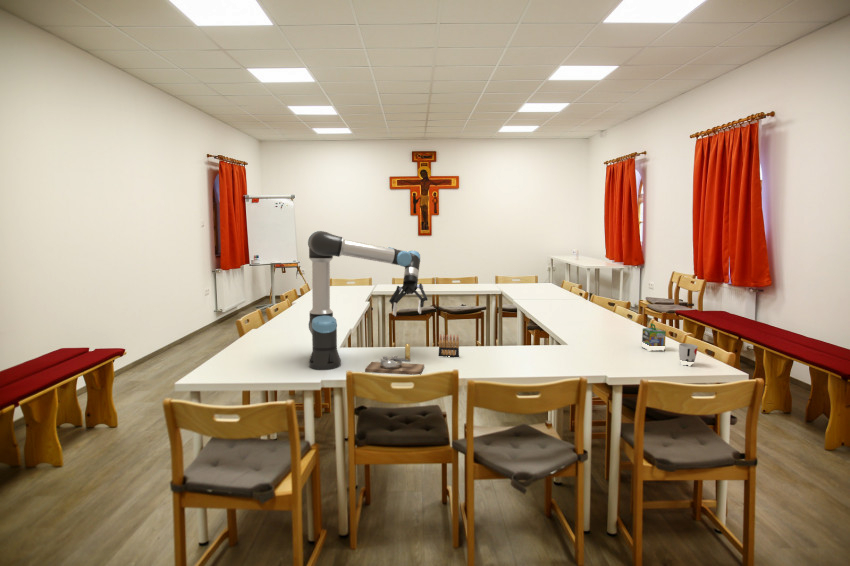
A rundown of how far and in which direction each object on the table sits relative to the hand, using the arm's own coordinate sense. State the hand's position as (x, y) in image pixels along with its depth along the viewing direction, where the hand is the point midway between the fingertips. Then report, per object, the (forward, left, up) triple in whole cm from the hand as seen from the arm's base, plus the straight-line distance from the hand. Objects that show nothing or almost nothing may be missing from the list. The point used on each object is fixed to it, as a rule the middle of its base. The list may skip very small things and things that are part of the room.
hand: (406, 313), depth 237 cm
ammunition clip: (+20, +11, -24) cm, 34 cm away
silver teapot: (-2, -16, -22) cm, 27 cm away
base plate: (-3, -16, -24) cm, 29 cm away
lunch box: (+132, +46, -24) cm, 142 cm away
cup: (+139, +17, -24) cm, 143 cm away
